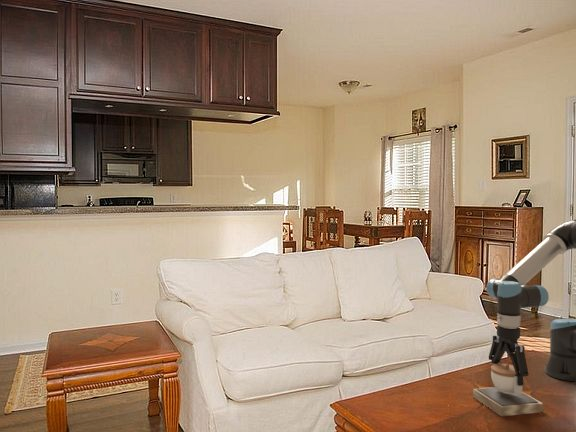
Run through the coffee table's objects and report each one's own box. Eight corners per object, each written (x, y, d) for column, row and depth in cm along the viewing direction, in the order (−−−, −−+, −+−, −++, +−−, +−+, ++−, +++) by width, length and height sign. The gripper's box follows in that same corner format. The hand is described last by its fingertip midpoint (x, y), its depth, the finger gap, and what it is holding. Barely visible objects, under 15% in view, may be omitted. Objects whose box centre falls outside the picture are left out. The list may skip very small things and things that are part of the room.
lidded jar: (527, 397, 164) (528, 370, 164) (493, 395, 167) (494, 368, 166) (519, 385, 175) (519, 360, 175) (487, 383, 177) (488, 358, 177)
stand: (511, 393, 181) (511, 384, 180) (542, 412, 165) (542, 402, 165) (472, 397, 177) (473, 388, 177) (501, 416, 161) (501, 406, 161)
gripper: (479, 318, 180) (477, 376, 181) (522, 335, 158) (520, 402, 159) (496, 317, 182) (495, 374, 183) (541, 334, 159) (540, 400, 160)
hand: (506, 387), depth 171 cm, fingers closed on lidded jar, 11 cm apart
